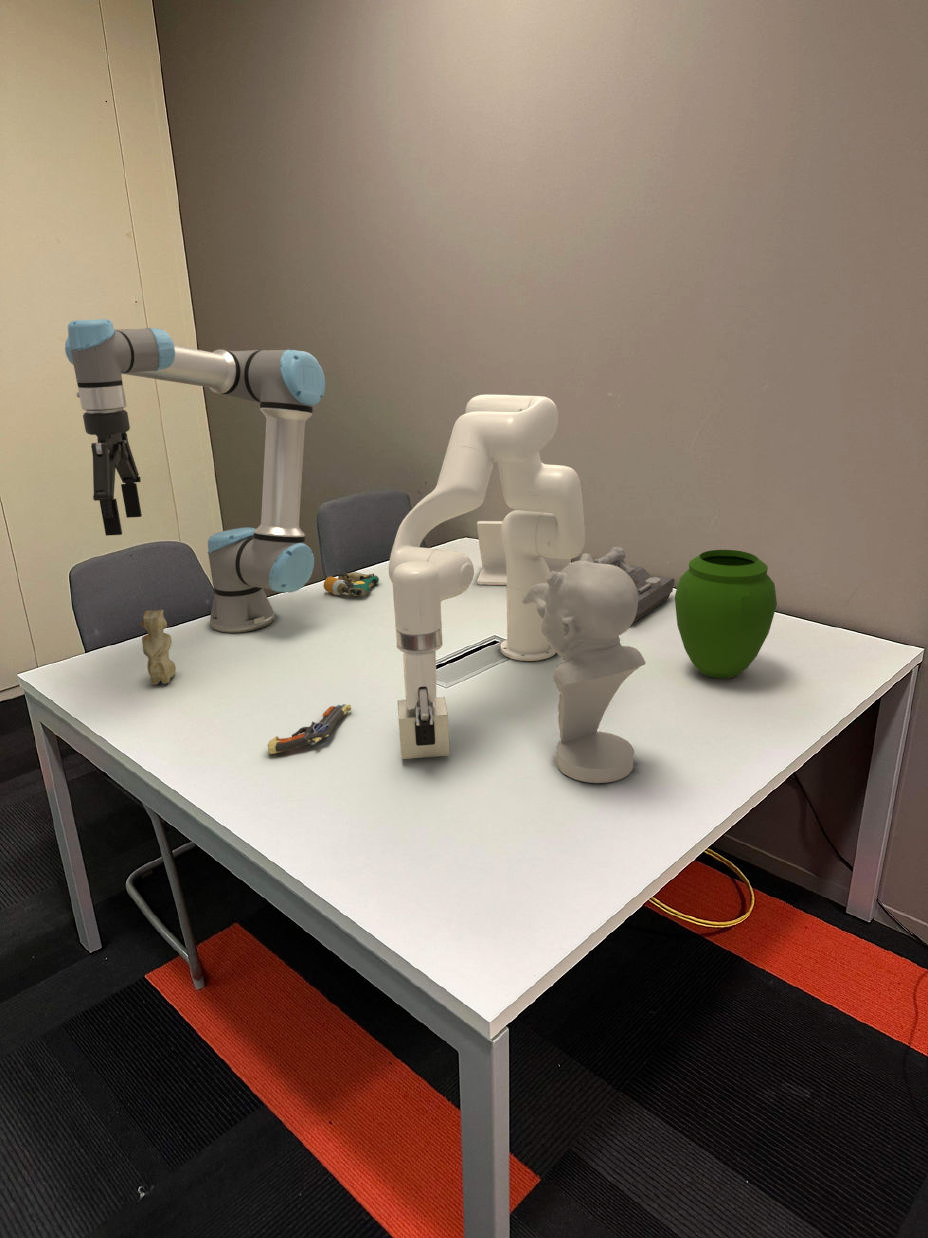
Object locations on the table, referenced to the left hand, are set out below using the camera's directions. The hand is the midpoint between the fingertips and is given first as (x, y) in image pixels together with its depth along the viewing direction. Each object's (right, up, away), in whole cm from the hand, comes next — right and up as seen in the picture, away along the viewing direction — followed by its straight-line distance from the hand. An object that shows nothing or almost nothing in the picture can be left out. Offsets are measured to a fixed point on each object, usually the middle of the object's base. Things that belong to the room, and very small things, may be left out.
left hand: (124, 525), depth 161 cm
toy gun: (+36, -38, -6) cm, 53 cm away
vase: (+116, -29, +14) cm, 121 cm away
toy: (+102, -14, +54) cm, 116 cm away
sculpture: (+1, -31, +18) cm, 36 cm away
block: (+57, -40, -14) cm, 71 cm away
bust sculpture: (+83, -41, -16) cm, 94 cm away
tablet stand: (+81, -5, +78) cm, 113 cm away
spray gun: (+34, -10, +71) cm, 79 cm away
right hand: (+57, -37, -15) cm, 70 cm away
